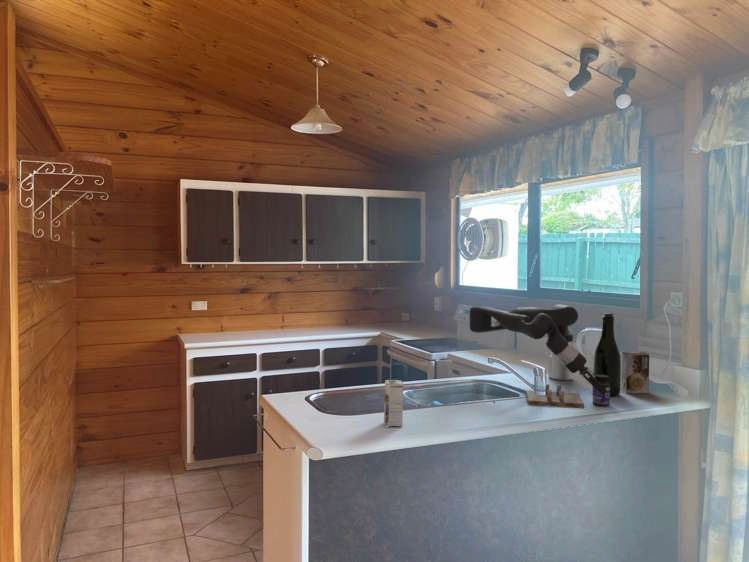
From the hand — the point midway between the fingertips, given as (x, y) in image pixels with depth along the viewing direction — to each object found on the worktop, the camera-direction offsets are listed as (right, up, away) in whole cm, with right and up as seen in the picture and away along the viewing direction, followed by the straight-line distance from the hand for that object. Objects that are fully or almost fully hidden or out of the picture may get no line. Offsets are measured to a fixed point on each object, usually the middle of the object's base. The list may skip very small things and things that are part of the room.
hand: (602, 390), depth 223 cm
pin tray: (-17, -5, +6) cm, 18 cm away
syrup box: (-80, -7, -26) cm, 84 cm away
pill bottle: (-1, -6, 0) cm, 6 cm away
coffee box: (+21, -5, +21) cm, 30 cm away
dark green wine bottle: (+8, -5, +16) cm, 19 cm away
